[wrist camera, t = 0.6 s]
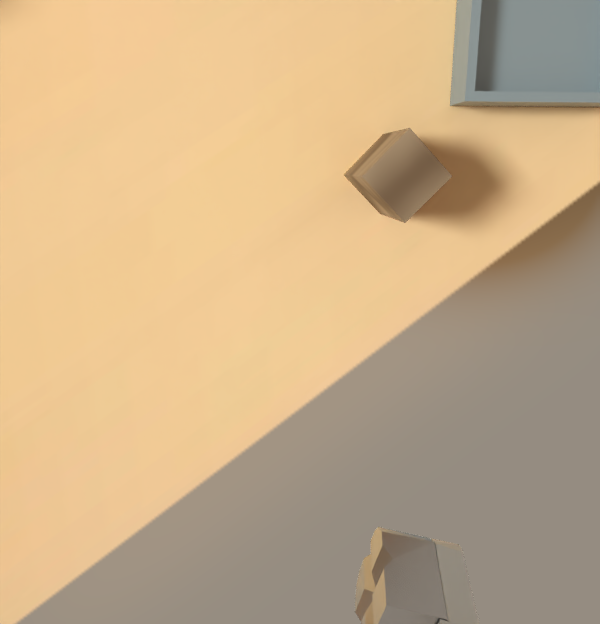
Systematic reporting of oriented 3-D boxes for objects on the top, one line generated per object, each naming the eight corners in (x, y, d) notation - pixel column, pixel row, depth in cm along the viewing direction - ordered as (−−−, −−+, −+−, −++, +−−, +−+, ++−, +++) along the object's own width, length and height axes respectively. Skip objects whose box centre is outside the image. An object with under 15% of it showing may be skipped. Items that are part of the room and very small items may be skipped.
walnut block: (343, 174, 50) (362, 176, 42) (383, 134, 49) (409, 127, 41) (380, 213, 51) (405, 222, 43) (419, 174, 51) (452, 176, 42)
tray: (461, -74, 46) (478, -93, 42) (620, -68, 47) (649, -86, 43) (450, 105, 49) (464, 101, 46) (598, 107, 50) (623, 102, 47)
